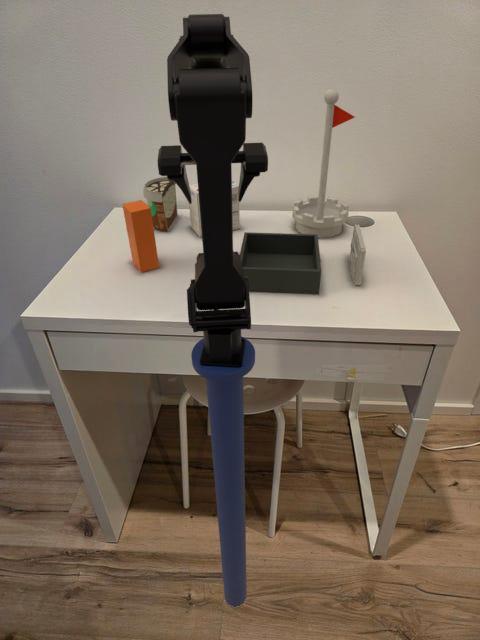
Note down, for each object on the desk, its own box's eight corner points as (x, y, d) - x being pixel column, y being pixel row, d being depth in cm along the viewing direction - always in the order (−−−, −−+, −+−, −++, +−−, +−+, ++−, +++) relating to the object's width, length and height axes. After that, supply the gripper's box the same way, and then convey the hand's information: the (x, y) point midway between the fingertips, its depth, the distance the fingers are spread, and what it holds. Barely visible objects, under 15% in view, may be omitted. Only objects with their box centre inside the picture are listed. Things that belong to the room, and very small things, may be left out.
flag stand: (287, 236, 101) (295, 93, 84) (295, 215, 112) (303, 83, 94) (344, 242, 99) (365, 95, 81) (347, 219, 109) (365, 84, 91)
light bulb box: (229, 219, 110) (228, 176, 104) (241, 229, 105) (240, 185, 99) (189, 227, 106) (185, 183, 100) (200, 238, 102) (196, 193, 95)
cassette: (347, 256, 93) (351, 222, 89) (355, 256, 93) (361, 223, 89) (352, 286, 84) (358, 250, 79) (362, 286, 84) (369, 250, 79)
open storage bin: (318, 294, 82) (321, 271, 79) (237, 291, 83) (236, 268, 80) (315, 255, 94) (317, 234, 91) (244, 253, 95) (244, 232, 92)
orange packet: (159, 267, 91) (150, 207, 83) (141, 272, 89) (130, 212, 82) (150, 257, 94) (141, 199, 87) (132, 262, 93) (122, 203, 85)
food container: (156, 213, 114) (150, 174, 108) (179, 214, 113) (175, 175, 107) (141, 233, 104) (134, 192, 98) (166, 234, 103) (160, 193, 98)
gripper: (263, 95, 76) (260, 177, 88) (155, 99, 75) (167, 180, 87) (270, 123, 69) (266, 208, 80) (151, 127, 68) (164, 213, 79)
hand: (215, 201), depth 82 cm, fingers open, 9 cm apart
